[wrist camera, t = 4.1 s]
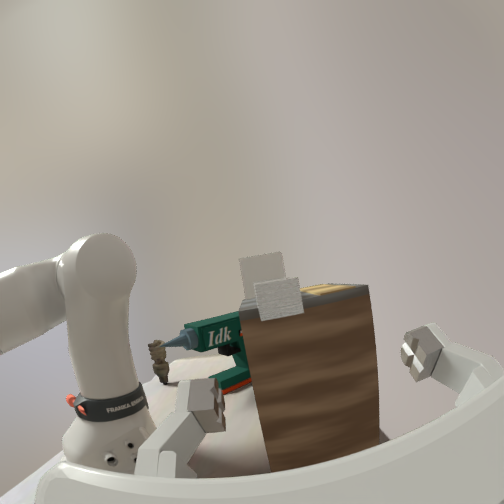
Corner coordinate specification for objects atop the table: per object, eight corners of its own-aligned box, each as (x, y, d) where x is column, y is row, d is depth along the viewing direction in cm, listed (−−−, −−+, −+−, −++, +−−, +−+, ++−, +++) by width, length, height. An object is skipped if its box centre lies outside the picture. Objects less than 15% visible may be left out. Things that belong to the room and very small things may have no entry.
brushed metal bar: (304, 312, 19) (297, 277, 19) (261, 321, 18) (254, 285, 19) (275, 295, 41) (272, 278, 42) (255, 298, 41) (252, 282, 42)
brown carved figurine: (173, 380, 81) (163, 337, 83) (175, 384, 76) (164, 340, 78) (157, 382, 79) (146, 340, 81) (157, 387, 74) (146, 342, 76)
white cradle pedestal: (298, 360, 83) (281, 253, 85) (298, 372, 73) (279, 251, 75) (263, 365, 85) (245, 259, 87) (258, 377, 74) (238, 258, 77)
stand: (377, 467, 25) (367, 282, 28) (276, 494, 25) (238, 309, 27) (344, 420, 41) (328, 282, 44) (269, 437, 41) (242, 298, 43)
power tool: (179, 413, 55) (162, 336, 56) (166, 404, 60) (150, 331, 61) (271, 372, 77) (263, 309, 78) (254, 368, 82) (246, 308, 83)
